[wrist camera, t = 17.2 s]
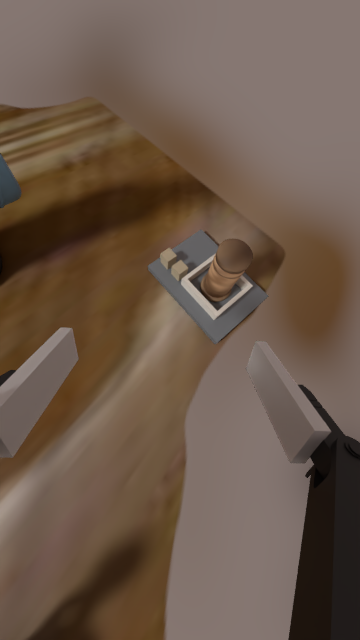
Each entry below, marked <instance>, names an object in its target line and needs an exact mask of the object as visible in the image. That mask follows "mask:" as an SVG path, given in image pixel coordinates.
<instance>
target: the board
mask: <svg viewBox="0 0 360 640" xmlns="http://www.w3.org/2000/svg"><path fill="white" fill-rule="evenodd" d="M218 247H219V246H218V245H217V244H215V243H214V242H213V241H212V240H211V239H210V238H209V237H208V236H207V235H206V234H205V233H204V232H203V231H202V230H200V231H198V232H197V233H195V234H194V235H192V236H191V237H189V238H188V239H186V240H185V241H183V242H182V243H181V244H179V245H178V246H176V247H175V248H173V249H172V250H171V249H170V248H168V249H167V250H165V251H164V252H162V253H161V254H160V258H159V259H157V260H156V261H154V262H153V263H151V264H150V265H148V270H149V271H150V272H151V273H152V274H153V276H154V277H155V278H156V279H157V280H158V281H159V282H160V283H161V284H162V286H163V287H164V288H165V289H166V290H167V291H168V292H169V293H170V295H171V296H172V297H173V298H174V299H175V300H176V301H177V302H178V303H179V305H180V306H181V307H182V308H183V309H184V310H185V311H186V312H187V314H188V315H189V316H190V317H191V318H192V319H193V320H194V321H195V322H196V324H197V325H198V326H199V327H200V328H201V329H202V330H203V331H204V333H205V334H206V335H207V336H208V337H209V338H210V339H211V340H212V341H213V343H214V344H216V343H218V342H219V341H220V340H221V339H222V338H223V337H224V336H225V335H226V334H228V333H229V332H230V331H231V330H232V329H233V328H234V327H235V326H236V325H237V324H239V323H240V322H241V321H242V320H243V319H244V318H245V317H246V316H247V315H248V314H250V313H251V312H252V311H253V310H254V309H255V308H256V307H257V306H258V305H259V304H261V303H262V302H263V301H264V300H265V299H266V298H267V297H268V295H267V294H266V293H265V292H264V291H263V290H262V289H261V288H260V287H259V286H258V285H257V284H256V283H255V282H254V281H253V280H252V279H251V278H250V277H249V276H248V275H247V274H246V273H245V272H244V273H243V275H241V277H240V278H239V279H238V281H237V282H236V283H235V284H234V286H233V287H232V290H231V293H230V295H229V296H228V297H227V298H226V299H225V300H223V301H221V302H211V301H209V300H207V299H206V298H205V297H204V296H203V295H202V293H201V291H200V284H201V281H202V279H203V277H204V276H205V275H206V274H207V273H208V270H209V268H210V266H211V263H212V261H213V258H214V256H215V254H216V252H217V250H218Z"/></svg>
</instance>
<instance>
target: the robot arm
mask: <svg viewBox="0 0 360 640" xmlns="http://www.w3.org/2000/svg"><path fill="white" fill-rule="evenodd" d="M20 196H21V188H20V186H19V184H18V182H17V181H16V179H15V177H14V175H13V174H12V172H11V170H10V169H9V167H8V165H7V164H6V162H5V160H4V158H3V157H2V155H1V153H0V208H3V207H4V206H5V205H7V204H9V203H12V202H14V201H16V200H18V199H19V198H20ZM1 269H2V260H1V257H0V273H1ZM77 361H78V354H77V349H76V345H75V340H74V335H73V330H72V328H60V329H59V330H58V331H57V332H55V333H54V334H53V335H52V336H51V337H50V338H49V339H48V340H47V341H46V342H45V343H44V344H43V345H42V346H41V347H40V348H39V349H38V350H37V351H36V352H35V353H34V354H33V355H32V356H31V357H30V358H29V359H28V360H27V361H26V362H25V363H24V364H23V365H22V366H21V367H20V368H19V369H18V370H10V371H8V372H7V373H5V374H3V375H1V376H0V457H13V456H14V455H15V453H16V452H17V450H18V449H19V447H20V446H21V444H22V443H23V441H24V440H25V438H26V437H27V435H28V434H29V432H30V431H31V429H32V428H33V426H34V425H35V423H36V422H37V420H38V419H39V417H40V416H41V414H42V413H43V412H44V410H45V409H46V407H47V406H48V404H49V403H50V401H51V400H52V398H53V397H54V395H55V394H56V392H57V391H58V389H59V388H60V386H61V385H62V383H63V382H64V380H65V379H66V377H67V376H68V374H69V373H70V371H71V370H72V368H73V367H74V365H75V364H76V362H77ZM246 370H247V372H248V374H249V376H250V379H251V381H252V383H253V385H254V387H255V389H256V391H257V393H258V395H259V398H260V400H261V402H262V404H263V406H264V408H265V410H266V413H267V414H268V417H269V419H270V421H271V423H272V425H273V427H274V430H275V432H276V434H277V436H278V438H279V440H280V442H281V444H282V447H283V449H284V451H285V453H286V455H287V457H288V459H289V461H290V463H305V462H306V461H307V460H308V459H309V458H311V459H312V461H313V463H314V465H313V466H312V467H311V469H310V470H309V471H308V472H307V473H306V475H305V476H306V477H307V478H308V477H309V476H310V475H311V478H310V486H309V493H308V500H307V508H306V515H305V522H304V530H303V537H302V544H301V552H300V559H299V566H298V574H297V581H296V589H295V596H294V603H293V610H292V618H291V626H290V632H289V640H360V443H359V442H358V441H356V440H355V439H353V438H351V437H348V436H345V435H344V434H343V432H342V431H341V430H340V429H339V427H338V426H337V425H336V423H335V422H334V421H333V419H332V418H331V417H330V416H329V414H328V413H327V412H326V411H325V409H324V408H322V405H321V404H320V403H319V402H318V401H317V399H316V398H315V396H314V395H313V394H312V393H311V392H310V391H309V390H308V389H307V388H306V387H304V386H303V385H297V384H296V382H295V381H294V380H293V378H292V377H291V375H290V374H289V373H288V371H287V370H286V369H285V367H284V366H283V364H282V363H281V362H280V360H279V359H278V358H277V356H276V355H275V353H274V352H273V351H272V349H271V348H270V347H269V345H268V344H267V343H266V342H263V341H256V343H255V345H254V348H253V351H252V353H251V356H250V359H249V362H248V365H247V367H246Z"/></svg>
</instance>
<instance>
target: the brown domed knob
mask: <svg viewBox="0 0 360 640" xmlns="http://www.w3.org/2000/svg"><path fill="white" fill-rule="evenodd" d="M252 259H253V254H252V251H251V249H250V247H249V246H248V245H247V244H246V243H245V242H243V241H241V240H238V239H227V240H225V241H223V242H222V243H221V244H220V245H219V247H218V250H217V252H216V254H215V256H214V258H213V261H212V263H211V266H210V268H209V270H208V273H207V274H206V275H205V276H204V277H203V279H202V281H201V284H200V291H201V293H202V295H203V296H204V297H205V298H206V299H207V300H209V301H211V302H221V301H223V300H225V299H226V298H227V297H228V296H229V295H230V293H231V290H232V287H233V286H234V284H235V283H236V282H237V281H238V279H239V278H240V277H241V275H243V273H244V272H245V271H246V269H247V268H248V266H249V265H250V264H251V262H252Z"/></svg>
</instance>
